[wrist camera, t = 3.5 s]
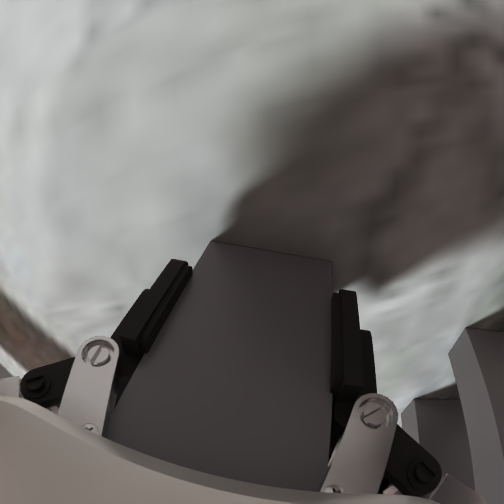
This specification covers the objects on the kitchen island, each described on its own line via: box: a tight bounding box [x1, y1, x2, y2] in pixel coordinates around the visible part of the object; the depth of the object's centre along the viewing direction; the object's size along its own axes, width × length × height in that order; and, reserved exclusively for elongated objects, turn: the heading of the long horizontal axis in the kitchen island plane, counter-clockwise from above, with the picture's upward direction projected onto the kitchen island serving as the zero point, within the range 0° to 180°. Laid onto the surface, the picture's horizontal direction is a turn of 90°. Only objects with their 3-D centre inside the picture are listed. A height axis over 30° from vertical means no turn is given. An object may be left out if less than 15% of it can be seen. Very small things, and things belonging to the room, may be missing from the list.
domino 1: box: [107, 241, 333, 492], centre depth 9 cm, size 2×5×10 cm, turn 85°
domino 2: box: [401, 399, 475, 491], centre depth 12 cm, size 2×5×10 cm, turn 85°
